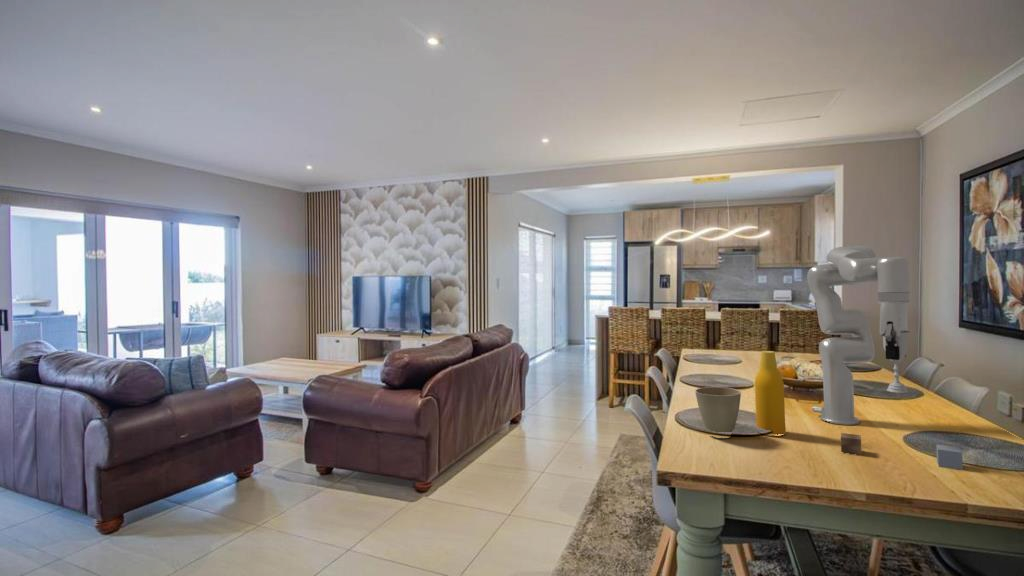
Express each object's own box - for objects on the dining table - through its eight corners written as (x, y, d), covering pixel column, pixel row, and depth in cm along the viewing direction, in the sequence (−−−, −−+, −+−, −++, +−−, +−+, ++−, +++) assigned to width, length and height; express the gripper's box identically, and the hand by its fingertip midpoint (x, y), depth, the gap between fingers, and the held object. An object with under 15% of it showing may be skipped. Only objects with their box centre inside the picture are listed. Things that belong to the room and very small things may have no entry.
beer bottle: (779, 438, 164) (776, 354, 165) (751, 433, 171) (748, 352, 171) (789, 432, 171) (786, 351, 171) (762, 427, 177) (759, 349, 178)
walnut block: (841, 453, 149) (840, 437, 149) (841, 448, 153) (841, 432, 153) (861, 456, 146) (860, 439, 146) (861, 451, 150) (860, 435, 150)
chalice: (917, 393, 140) (915, 332, 140) (891, 393, 142) (889, 332, 142) (902, 388, 147) (900, 329, 147) (877, 388, 149) (875, 330, 149)
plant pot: (737, 430, 175) (735, 386, 175) (747, 443, 161) (745, 395, 161) (694, 429, 179) (692, 386, 179) (700, 441, 164) (698, 395, 164)
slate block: (938, 467, 136) (937, 449, 136) (936, 461, 140) (936, 444, 140) (962, 470, 133) (962, 452, 133) (960, 464, 137) (959, 447, 137)
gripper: (887, 297, 153) (889, 353, 153) (869, 299, 142) (871, 360, 142) (917, 297, 147) (919, 355, 147) (901, 299, 136) (903, 362, 136)
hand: (896, 357), depth 144 cm, fingers closed on chalice, 6 cm apart
